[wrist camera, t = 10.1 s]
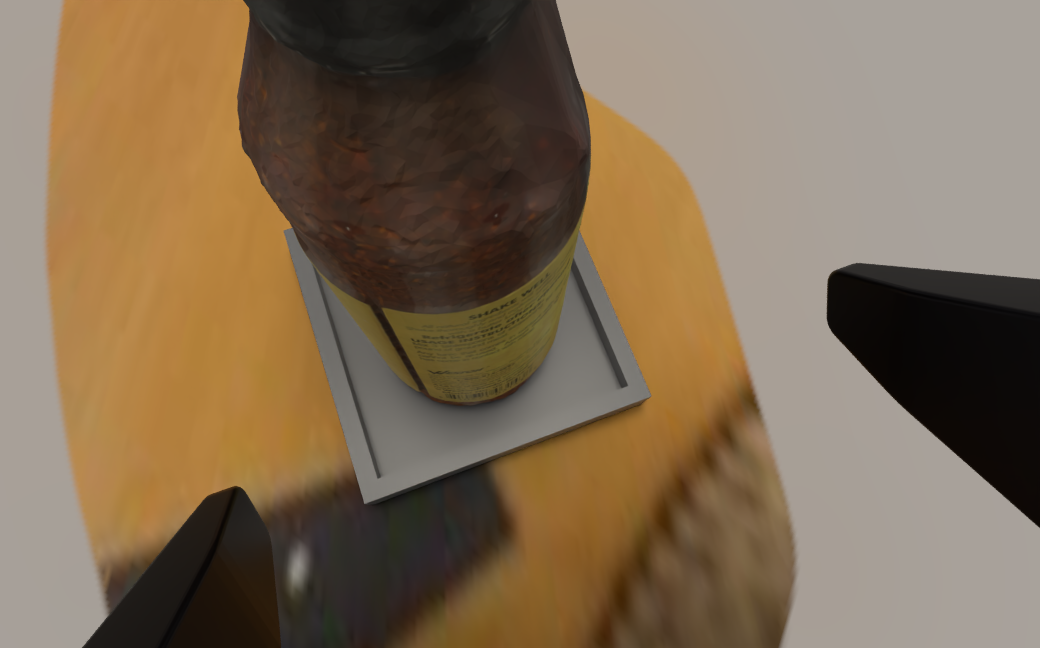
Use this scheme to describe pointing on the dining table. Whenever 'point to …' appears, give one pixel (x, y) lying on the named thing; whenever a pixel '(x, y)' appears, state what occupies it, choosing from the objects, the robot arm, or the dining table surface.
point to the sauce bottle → (426, 173)
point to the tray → (467, 429)
